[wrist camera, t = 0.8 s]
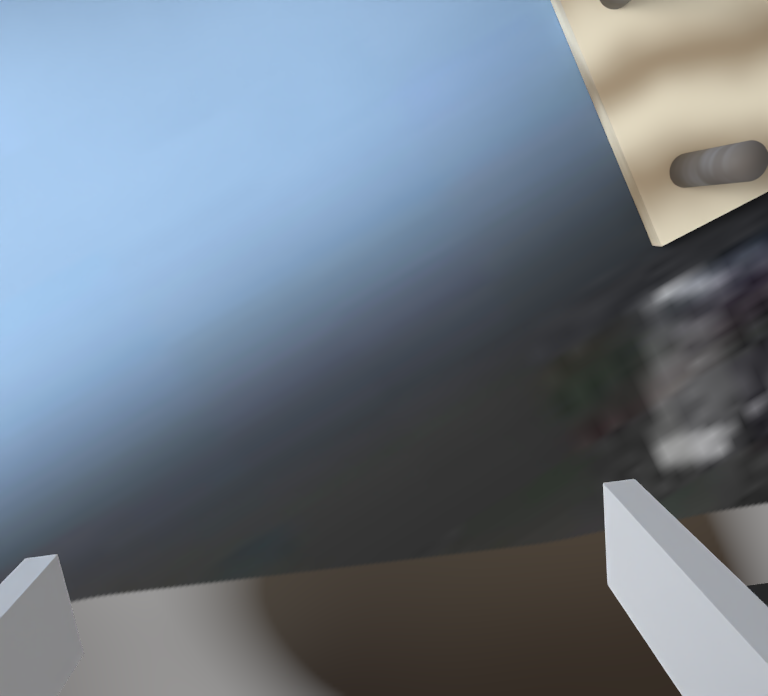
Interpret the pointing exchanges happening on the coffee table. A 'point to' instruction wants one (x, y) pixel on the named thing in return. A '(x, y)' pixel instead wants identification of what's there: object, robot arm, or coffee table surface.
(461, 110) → the coffee table surface
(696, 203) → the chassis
